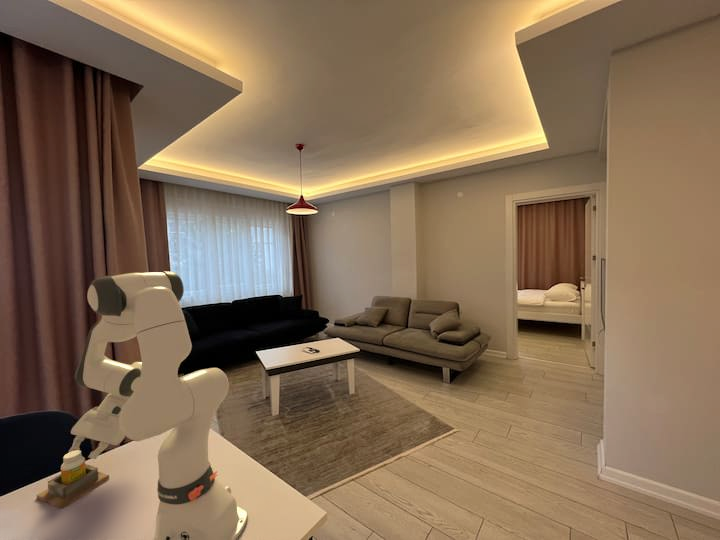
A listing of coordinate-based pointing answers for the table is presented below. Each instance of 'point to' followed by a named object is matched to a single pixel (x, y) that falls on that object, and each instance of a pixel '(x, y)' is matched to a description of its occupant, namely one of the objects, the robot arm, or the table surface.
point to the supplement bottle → (72, 467)
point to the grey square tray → (71, 487)
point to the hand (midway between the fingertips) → (81, 455)
